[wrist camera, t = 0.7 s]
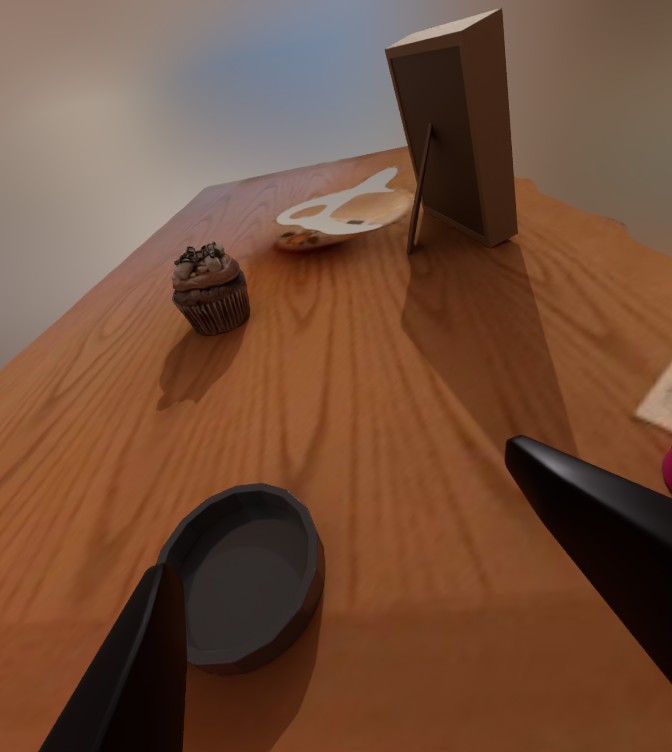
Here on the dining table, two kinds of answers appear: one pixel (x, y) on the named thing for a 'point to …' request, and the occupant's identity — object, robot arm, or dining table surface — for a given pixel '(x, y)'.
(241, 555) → the tray
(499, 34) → the photo frame
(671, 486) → the pepper mill
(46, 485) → the dining table surface
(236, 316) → the cupcake
